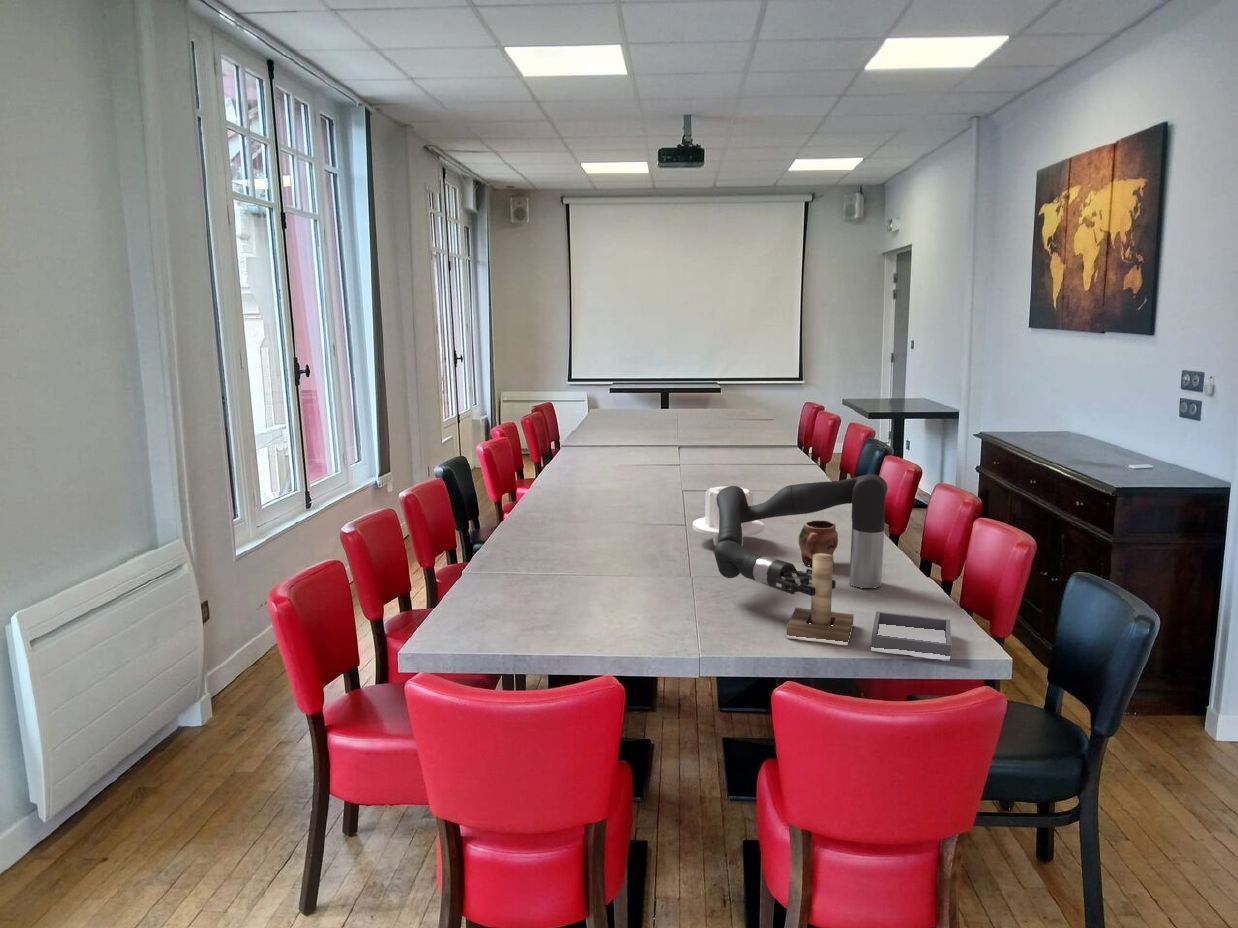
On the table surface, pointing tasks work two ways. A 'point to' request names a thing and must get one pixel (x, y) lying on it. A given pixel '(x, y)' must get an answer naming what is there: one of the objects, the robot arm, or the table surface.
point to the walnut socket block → (820, 626)
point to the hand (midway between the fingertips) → (824, 588)
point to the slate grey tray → (911, 644)
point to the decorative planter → (817, 539)
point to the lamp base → (711, 518)
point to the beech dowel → (822, 589)
